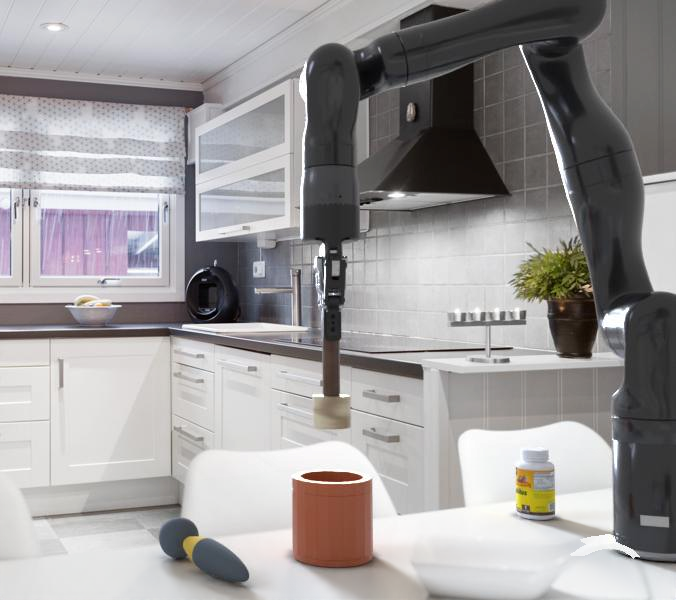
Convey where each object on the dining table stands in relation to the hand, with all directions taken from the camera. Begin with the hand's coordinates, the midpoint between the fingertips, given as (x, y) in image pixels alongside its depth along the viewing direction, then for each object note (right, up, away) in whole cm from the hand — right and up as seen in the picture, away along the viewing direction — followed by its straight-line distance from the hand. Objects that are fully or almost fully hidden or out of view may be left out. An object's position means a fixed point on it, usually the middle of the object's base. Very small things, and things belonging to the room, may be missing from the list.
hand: (331, 339), depth 105 cm
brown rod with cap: (0, -11, 0) cm, 11 cm away
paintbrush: (-16, -27, -6) cm, 32 cm away
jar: (0, -27, -1) cm, 27 cm away
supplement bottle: (+34, -28, +20) cm, 48 cm away
